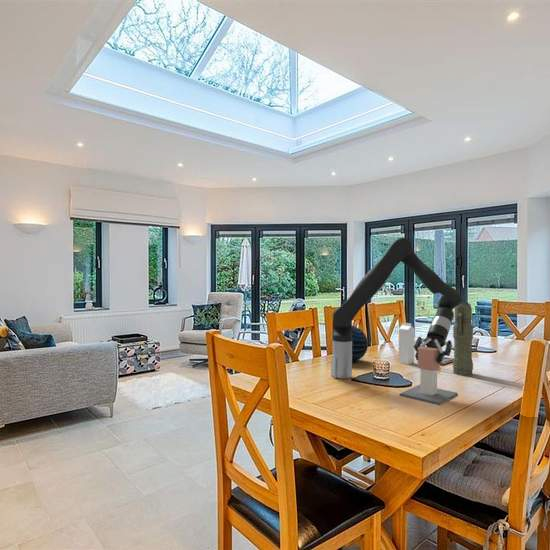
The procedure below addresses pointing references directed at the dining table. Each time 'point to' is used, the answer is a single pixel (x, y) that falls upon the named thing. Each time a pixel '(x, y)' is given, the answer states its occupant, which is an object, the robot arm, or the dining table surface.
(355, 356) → the decorative sphere
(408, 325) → the milk
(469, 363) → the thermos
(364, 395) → the dining table surface
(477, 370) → the dining table surface
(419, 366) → the cap
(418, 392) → the square base with post
